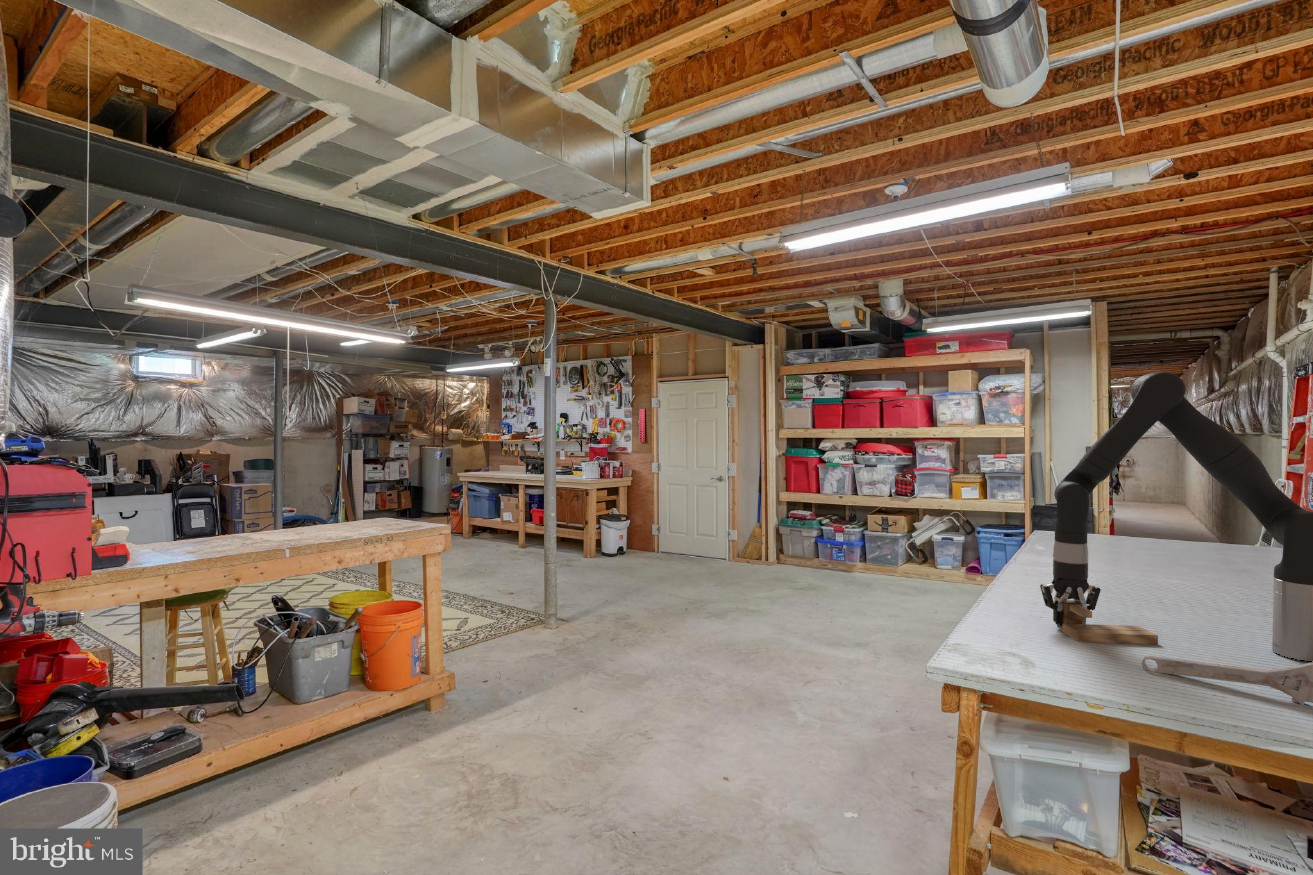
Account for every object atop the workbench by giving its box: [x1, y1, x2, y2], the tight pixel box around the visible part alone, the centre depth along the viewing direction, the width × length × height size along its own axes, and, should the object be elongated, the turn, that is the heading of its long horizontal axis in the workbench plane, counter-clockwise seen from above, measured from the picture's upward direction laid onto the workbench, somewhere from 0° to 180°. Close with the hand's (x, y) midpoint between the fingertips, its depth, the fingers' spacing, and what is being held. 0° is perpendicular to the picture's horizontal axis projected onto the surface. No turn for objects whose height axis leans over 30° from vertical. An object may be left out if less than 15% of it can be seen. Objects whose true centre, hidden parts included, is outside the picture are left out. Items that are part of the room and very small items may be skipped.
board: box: [1062, 623, 1159, 645], centre depth 155 cm, size 18×7×2 cm, turn 84°
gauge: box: [1056, 599, 1093, 631], centre depth 158 cm, size 4×10×7 cm, turn 174°
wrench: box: [1141, 655, 1313, 706], centre depth 125 cm, size 8×2×30 cm
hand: (1069, 624), depth 161 cm, fingers open, 4 cm apart
